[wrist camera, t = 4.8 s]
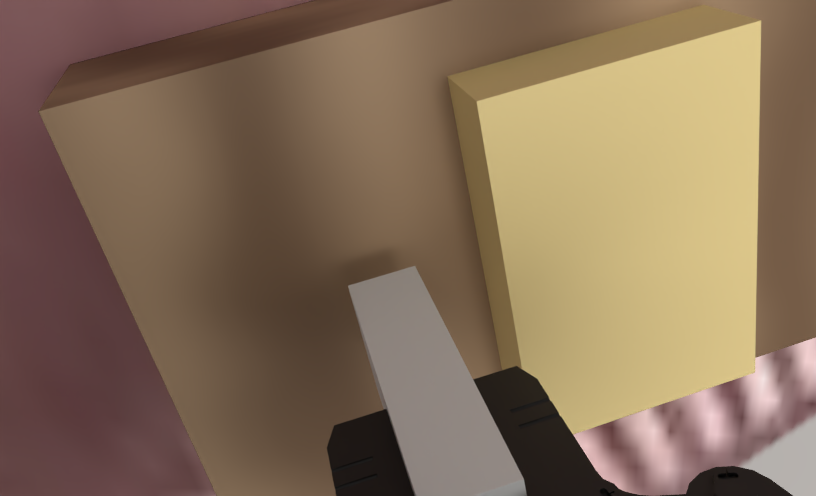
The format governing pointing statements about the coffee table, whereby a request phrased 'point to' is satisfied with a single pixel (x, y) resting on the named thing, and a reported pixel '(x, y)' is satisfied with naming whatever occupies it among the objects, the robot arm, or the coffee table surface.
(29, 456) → the coffee table surface
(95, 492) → the coffee table surface
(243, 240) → the deck
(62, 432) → the coffee table surface
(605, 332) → the yellow rectangular block
